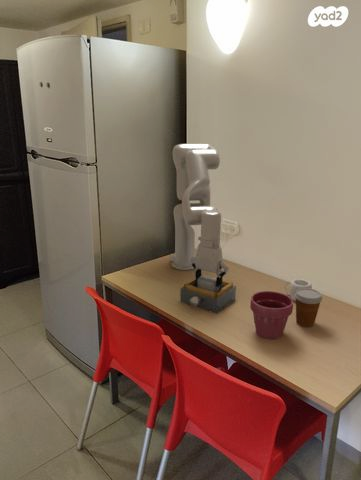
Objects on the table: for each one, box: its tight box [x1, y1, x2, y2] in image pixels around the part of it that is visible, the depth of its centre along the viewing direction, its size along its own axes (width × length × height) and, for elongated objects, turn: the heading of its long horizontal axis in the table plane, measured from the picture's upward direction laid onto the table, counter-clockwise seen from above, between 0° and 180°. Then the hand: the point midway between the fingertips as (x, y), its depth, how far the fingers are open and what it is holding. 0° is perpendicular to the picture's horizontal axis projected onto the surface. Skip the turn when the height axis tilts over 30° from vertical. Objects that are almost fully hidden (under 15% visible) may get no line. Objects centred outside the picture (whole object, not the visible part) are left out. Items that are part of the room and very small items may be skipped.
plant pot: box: [249, 290, 294, 340], centre depth 136 cm, size 14×14×13 cm
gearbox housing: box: [179, 273, 237, 315], centre depth 158 cm, size 17×19×8 cm
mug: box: [284, 278, 313, 302], centre depth 162 cm, size 12×8×8 cm
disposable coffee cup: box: [295, 288, 323, 328], centre depth 142 cm, size 10×10×12 cm
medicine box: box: [198, 274, 219, 293], centre depth 159 cm, size 8×4×9 cm, turn 56°
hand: (208, 282), depth 158 cm, fingers open, 9 cm apart
